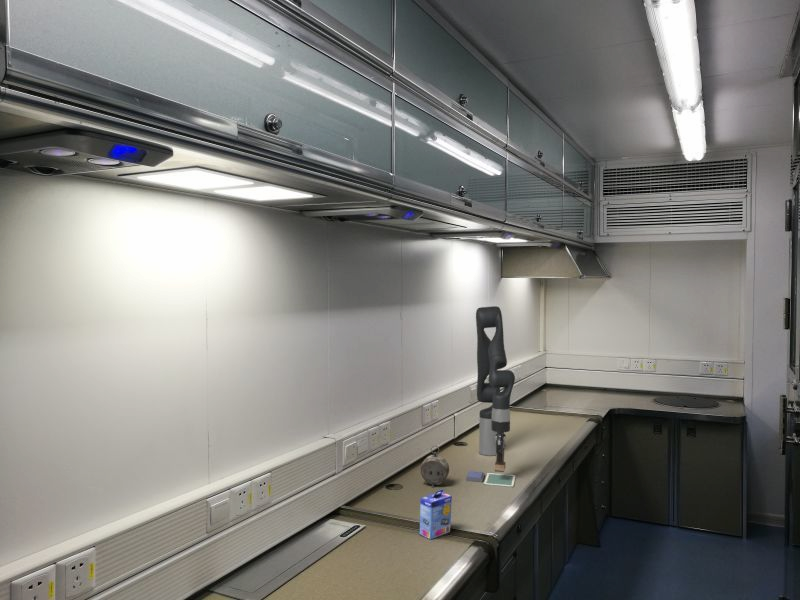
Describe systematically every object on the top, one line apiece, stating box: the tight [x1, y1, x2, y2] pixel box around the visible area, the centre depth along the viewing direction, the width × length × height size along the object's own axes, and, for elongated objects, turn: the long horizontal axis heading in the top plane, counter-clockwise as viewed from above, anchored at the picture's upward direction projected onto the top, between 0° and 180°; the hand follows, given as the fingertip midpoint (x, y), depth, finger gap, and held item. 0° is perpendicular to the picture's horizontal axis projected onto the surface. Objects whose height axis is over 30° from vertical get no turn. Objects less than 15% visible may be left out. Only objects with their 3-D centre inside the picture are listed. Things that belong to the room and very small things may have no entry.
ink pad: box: [465, 470, 485, 483], centre depth 261 cm, size 8×6×2 cm
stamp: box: [493, 443, 507, 473], centre depth 258 cm, size 6×4×10 cm
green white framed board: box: [483, 472, 516, 488], centre depth 259 cm, size 15×12×1 cm
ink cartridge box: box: [419, 488, 453, 541], centre depth 203 cm, size 10×6×14 cm, turn 135°
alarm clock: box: [420, 445, 450, 488], centre depth 250 cm, size 11×5×16 cm, turn 74°
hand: (500, 460), depth 258 cm, fingers closed on stamp, 3 cm apart
